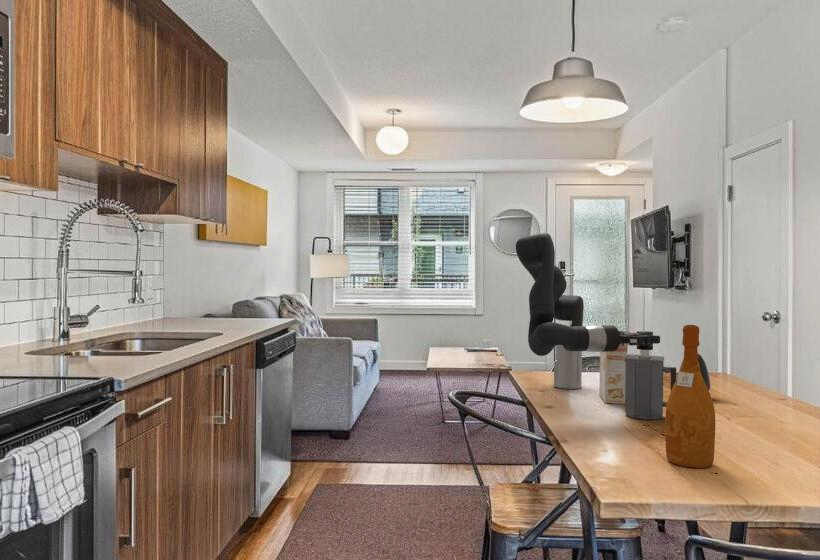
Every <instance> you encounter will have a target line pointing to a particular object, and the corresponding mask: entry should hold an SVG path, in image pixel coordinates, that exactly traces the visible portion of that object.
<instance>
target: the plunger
mask: <svg viewBox="0 0 820 560" xmlns="http://www.w3.org/2000/svg"><path fill="white" fill-rule="evenodd" d="M636 333H639V334H640V335H648V336H654V331H649V330H648V331H647V330H638V331H636ZM642 342H644V338H643V339H642ZM636 349H637V350H639V352H640V353H639V355H640V358H649V356H650V351H653V350H654V344H650V345H648V346H647V345H638V346H636Z"/></svg>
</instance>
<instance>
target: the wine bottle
mask: <svg viewBox="0 0 820 560" xmlns="http://www.w3.org/2000/svg"><path fill="white" fill-rule="evenodd" d="M681 344H682V345H683V347H684V348H683V360H682V361H683V363H682V362H681V364H682V365H681V364H680V366H681V370H680V369H679V370H680V372H679V371H678V373H679V374H677V377H676V382H675V384H674V386H673V388H672V390H671V389H670V392H669V396H668V399H667V401H666V402H667V405H666V407H665V417H664V418H665V422H664V423H665V427H664V428H665V429H664V430H665V435H664V436H665V439H664V440H665V455H666V456H665V457H666V459H667V461H669V462H670V463H673V464H675V465H677V466H680V467H686V468H690V469H691V468H692V469H703V468H704V469H705V468H709V467H711V466H712V465H713V464H714V460H715V447H716V411H715V406H714V403H713V398H712V395H711V393H710V389H709V390H708V388H707V386H706V384H705V381H704V379H703V377H702V374H701V372H700V365H699V362H698V354H699V351H698V347H699V346H700V327H699V326H698V325H695V324H686V325H684V326H683V328H682V343H681Z"/></svg>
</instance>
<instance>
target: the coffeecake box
mask: <svg viewBox="0 0 820 560" xmlns="http://www.w3.org/2000/svg"><path fill="white" fill-rule="evenodd" d="M627 355H628V346H622V345H619V347H618V349H617V350H616V351H614V352H599V391H598V392H599V394H598V395H599V396H600V397H601V400H603V403H604V404H613V405H615V404H617V405H625V374H626V362H625V357H626V356H627Z"/></svg>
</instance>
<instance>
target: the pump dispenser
mask: <svg viewBox="0 0 820 560" xmlns="http://www.w3.org/2000/svg"><path fill="white" fill-rule="evenodd" d="M698 362H699V365H700V372H701V374H702V377H703V379H704V381H705V384H706V386H707V388H708V390H709V391H710V390H711V379H710V374H709V371H708V367H707V364H706V362H705V359H704V357H703V356H702V355H701V354H700V353H698ZM682 363H683V360H682V361H681V364H680V367H679V371H678V374H679V372H680V370H681V365H682ZM678 374H677V375H678Z"/></svg>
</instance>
